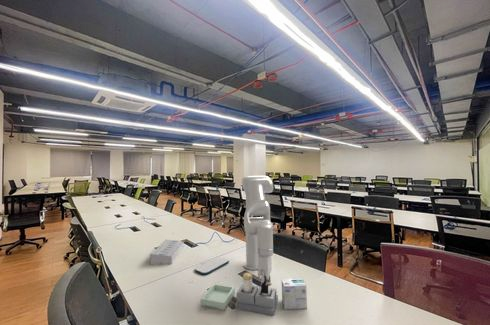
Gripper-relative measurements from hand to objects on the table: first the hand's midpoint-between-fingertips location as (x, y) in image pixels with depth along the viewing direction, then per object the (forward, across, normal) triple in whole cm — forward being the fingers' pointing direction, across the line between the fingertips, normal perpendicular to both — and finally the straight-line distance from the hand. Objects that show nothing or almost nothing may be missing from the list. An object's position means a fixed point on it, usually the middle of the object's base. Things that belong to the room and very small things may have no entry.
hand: (265, 289), depth 101 cm
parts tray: (+7, +2, -24) cm, 25 cm away
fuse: (+5, 0, -9) cm, 10 cm away
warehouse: (+8, -38, -83) cm, 92 cm away
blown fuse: (+5, 0, 0) cm, 5 cm away
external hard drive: (+8, -30, -42) cm, 53 cm away
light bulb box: (+8, -4, +12) cm, 15 cm away
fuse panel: (+7, 0, -4) cm, 9 cm away
